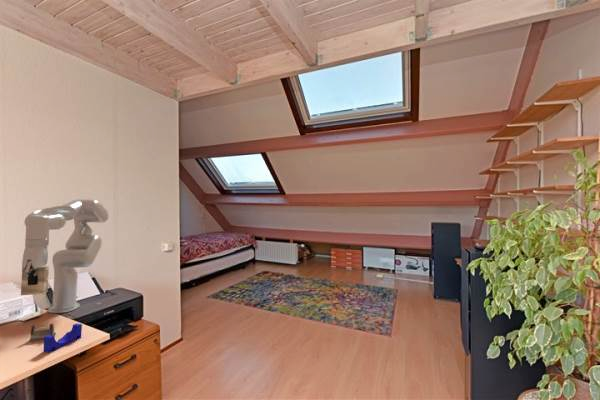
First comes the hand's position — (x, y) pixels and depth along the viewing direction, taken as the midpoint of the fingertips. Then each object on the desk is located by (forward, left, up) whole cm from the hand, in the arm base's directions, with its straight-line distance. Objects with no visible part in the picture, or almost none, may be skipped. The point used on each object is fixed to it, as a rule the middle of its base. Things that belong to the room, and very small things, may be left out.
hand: (35, 283), depth 119 cm
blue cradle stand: (+17, +17, -22) cm, 32 cm away
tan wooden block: (0, 0, -5) cm, 5 cm away
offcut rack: (+9, +8, -21) cm, 24 cm away
